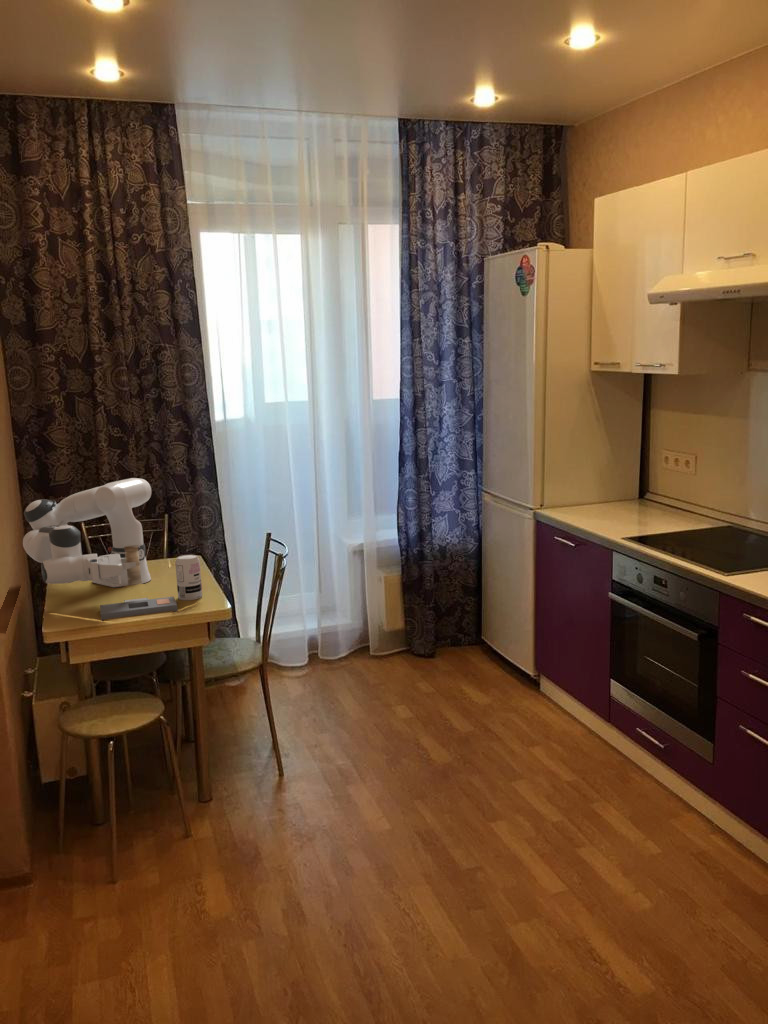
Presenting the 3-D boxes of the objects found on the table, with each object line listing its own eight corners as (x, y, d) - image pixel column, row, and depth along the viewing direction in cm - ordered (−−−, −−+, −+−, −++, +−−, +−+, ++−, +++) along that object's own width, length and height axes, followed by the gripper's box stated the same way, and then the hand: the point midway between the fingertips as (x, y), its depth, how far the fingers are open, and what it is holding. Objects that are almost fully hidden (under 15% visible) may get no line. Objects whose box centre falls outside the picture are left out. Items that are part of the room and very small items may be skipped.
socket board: (101, 621, 271) (100, 613, 271) (100, 612, 281) (99, 604, 281) (177, 611, 279) (177, 604, 278) (174, 603, 289) (173, 595, 289)
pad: (125, 608, 285) (125, 606, 285) (124, 602, 293) (124, 600, 293) (149, 605, 288) (149, 603, 288) (148, 599, 295) (147, 597, 295)
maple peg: (125, 584, 288) (121, 547, 286) (134, 581, 292) (131, 544, 290) (134, 585, 286) (131, 547, 283) (144, 582, 290) (140, 545, 287)
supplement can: (182, 595, 298) (179, 554, 296) (205, 595, 298) (202, 554, 295) (174, 602, 291) (171, 559, 288) (198, 602, 290) (195, 559, 287)
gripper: (93, 569, 294) (134, 564, 298) (94, 582, 275) (138, 577, 279) (91, 551, 292) (133, 547, 297) (92, 564, 273) (136, 559, 278)
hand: (135, 562), depth 288 cm, fingers closed on maple peg, 4 cm apart
